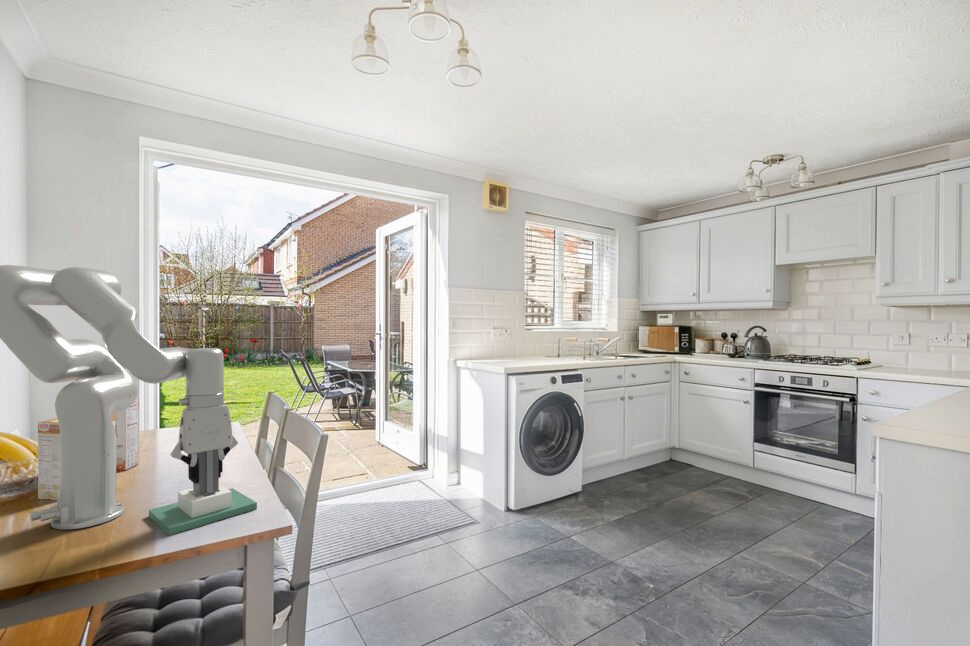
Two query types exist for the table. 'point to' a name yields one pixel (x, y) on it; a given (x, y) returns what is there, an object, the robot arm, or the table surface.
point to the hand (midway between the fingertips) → (205, 478)
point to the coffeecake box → (50, 459)
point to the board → (179, 521)
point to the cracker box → (127, 437)
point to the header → (204, 501)
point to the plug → (207, 472)
